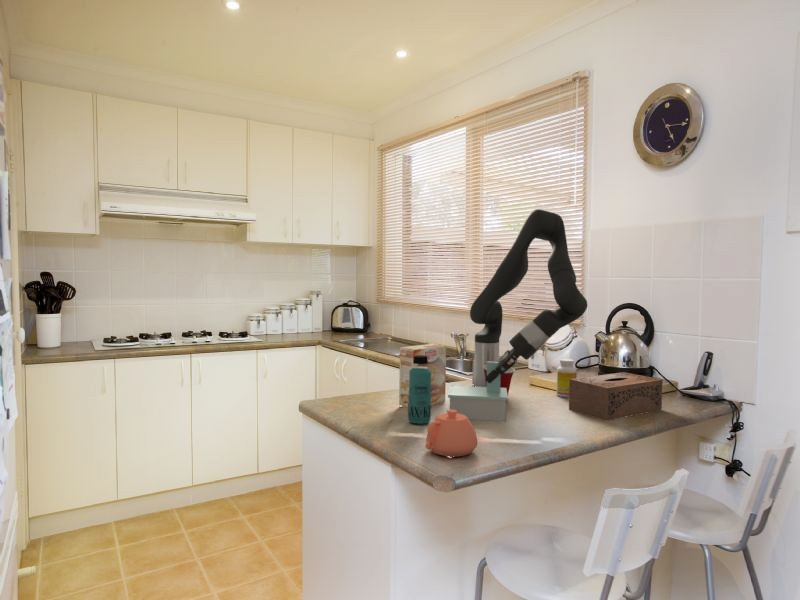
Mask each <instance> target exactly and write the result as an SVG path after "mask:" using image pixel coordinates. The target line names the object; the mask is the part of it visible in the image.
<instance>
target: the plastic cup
mask: <svg viewBox="0 0 800 600" xmlns="http://www.w3.org/2000/svg"><path fill="white" fill-rule="evenodd" d="M482 367H483V369H484V374H486V373H487V365H483V366H482ZM502 370H503V369H502ZM515 372H516V369H515V368H513V367H511V368H510V369H508V370H507V371H506V372H505V373H504V374H503V375H501V377H500V388H506V389H507V396H509V391H510V387H511V382H512V379H513V375H514V374H515ZM485 377H486V376H485ZM486 387H487V381H486ZM507 401H508V400H506V402H507Z"/></svg>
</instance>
